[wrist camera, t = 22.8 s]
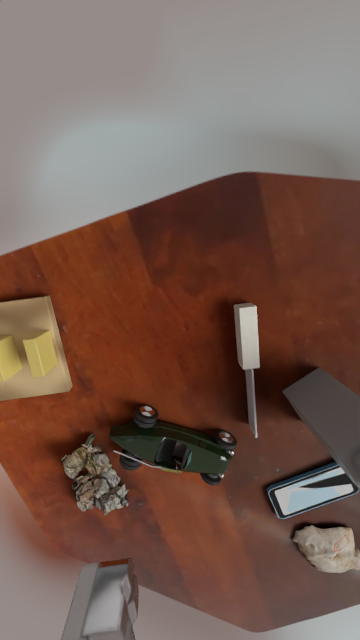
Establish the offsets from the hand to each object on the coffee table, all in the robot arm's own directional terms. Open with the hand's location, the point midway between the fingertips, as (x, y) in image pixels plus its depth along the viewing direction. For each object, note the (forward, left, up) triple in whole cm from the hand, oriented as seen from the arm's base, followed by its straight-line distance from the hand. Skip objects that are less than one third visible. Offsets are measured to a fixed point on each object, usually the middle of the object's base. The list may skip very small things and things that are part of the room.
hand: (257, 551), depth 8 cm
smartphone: (+32, +18, -29) cm, 47 cm away
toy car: (+18, -5, -29) cm, 35 cm away
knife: (+8, +8, -29) cm, 31 cm away
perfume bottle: (+14, +18, -29) cm, 37 cm away
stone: (+46, +21, -29) cm, 58 cm away
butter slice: (0, -20, -28) cm, 34 cm away
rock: (+23, -17, -29) cm, 41 cm away
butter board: (0, -25, -29) cm, 38 cm away
